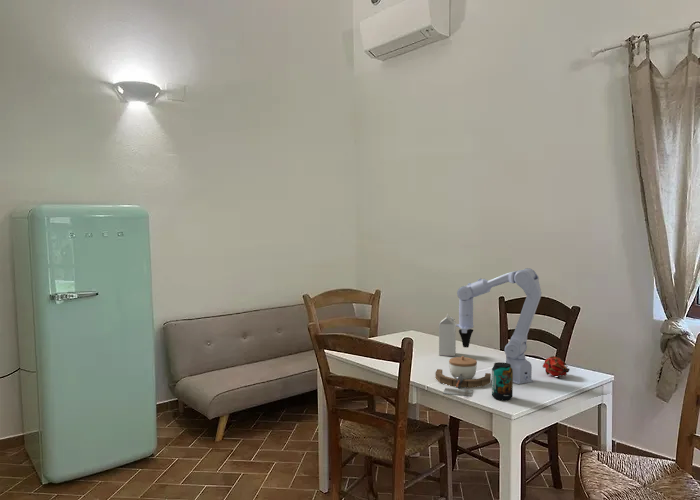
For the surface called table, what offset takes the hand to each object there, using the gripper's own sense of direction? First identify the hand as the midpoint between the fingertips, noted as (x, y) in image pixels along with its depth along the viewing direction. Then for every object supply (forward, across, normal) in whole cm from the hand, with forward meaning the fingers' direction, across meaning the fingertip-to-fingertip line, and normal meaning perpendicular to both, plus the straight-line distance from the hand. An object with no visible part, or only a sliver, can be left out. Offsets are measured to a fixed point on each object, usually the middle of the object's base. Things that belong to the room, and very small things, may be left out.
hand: (465, 347), depth 217 cm
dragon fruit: (+11, -4, +35) cm, 37 cm away
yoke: (+10, +20, 0) cm, 22 cm away
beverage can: (+11, +29, +16) cm, 35 cm away
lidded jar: (+11, +12, 0) cm, 16 cm away
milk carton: (+11, -27, -11) cm, 31 cm away
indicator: (+8, +24, 0) cm, 26 cm away
